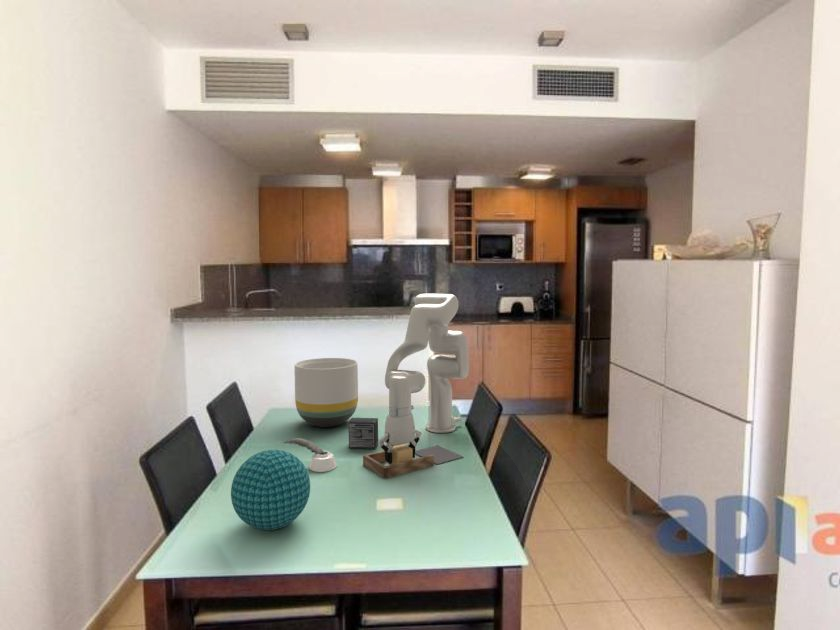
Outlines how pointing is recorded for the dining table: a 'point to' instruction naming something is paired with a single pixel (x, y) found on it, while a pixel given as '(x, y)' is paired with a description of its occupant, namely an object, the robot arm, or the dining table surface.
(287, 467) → the decorative ball
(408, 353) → the robot arm
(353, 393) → the planter
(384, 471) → the walnut cubby
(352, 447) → the small box
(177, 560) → the dining table surface
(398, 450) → the ochre cube
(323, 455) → the inkwell
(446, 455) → the charcoal mat
